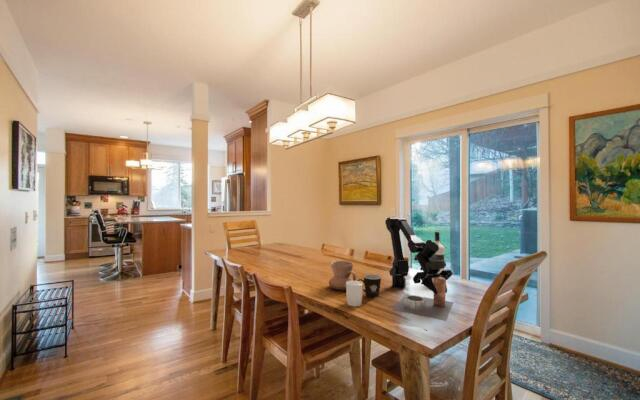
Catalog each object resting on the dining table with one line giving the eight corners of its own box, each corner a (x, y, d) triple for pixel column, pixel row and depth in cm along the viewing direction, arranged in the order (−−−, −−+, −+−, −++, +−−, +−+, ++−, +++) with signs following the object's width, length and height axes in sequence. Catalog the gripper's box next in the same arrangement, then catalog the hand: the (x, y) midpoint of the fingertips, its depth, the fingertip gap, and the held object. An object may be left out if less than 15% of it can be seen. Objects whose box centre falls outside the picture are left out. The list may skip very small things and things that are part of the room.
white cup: (344, 301, 141) (344, 280, 141) (360, 300, 142) (360, 280, 142) (347, 307, 133) (347, 285, 133) (364, 307, 134) (364, 285, 134)
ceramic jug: (321, 287, 163) (322, 261, 163) (340, 282, 173) (340, 258, 172) (345, 296, 150) (345, 268, 149) (363, 290, 159) (364, 264, 159)
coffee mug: (382, 295, 150) (382, 275, 150) (378, 300, 142) (378, 280, 142) (360, 292, 155) (360, 273, 155) (355, 297, 147) (355, 277, 147)
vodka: (448, 283, 171) (449, 232, 171) (436, 285, 168) (436, 233, 167) (436, 279, 180) (437, 230, 179) (424, 281, 176) (425, 231, 176)
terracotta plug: (432, 305, 133) (432, 279, 132) (434, 302, 137) (434, 276, 137) (444, 307, 130) (444, 280, 130) (446, 304, 134) (446, 278, 134)
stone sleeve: (402, 308, 130) (402, 299, 130) (407, 302, 137) (407, 294, 137) (422, 312, 125) (422, 303, 125) (426, 306, 133) (426, 297, 133)
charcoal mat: (391, 311, 128) (391, 309, 128) (406, 296, 149) (406, 294, 149) (446, 323, 117) (446, 320, 117) (453, 304, 138) (453, 302, 138)
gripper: (417, 255, 134) (433, 286, 124) (450, 252, 140) (468, 282, 129) (406, 268, 142) (421, 298, 131) (438, 265, 147) (454, 294, 137)
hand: (441, 293), depth 132 cm, fingers closed on terracotta plug, 5 cm apart
